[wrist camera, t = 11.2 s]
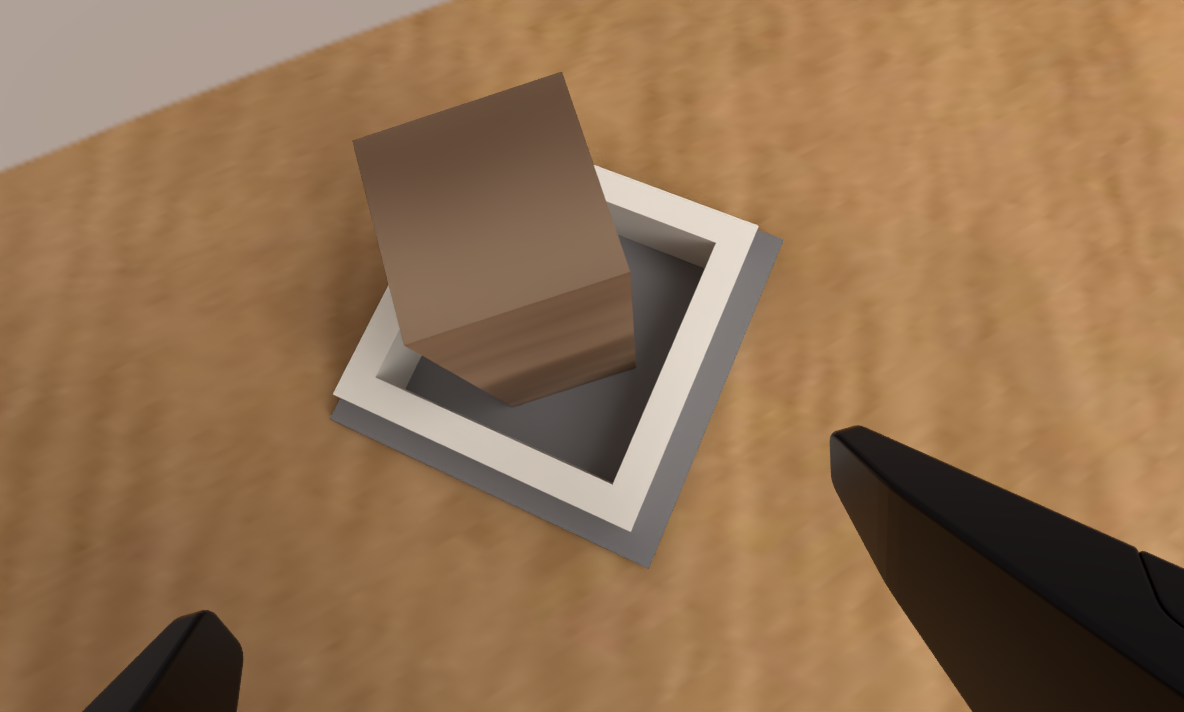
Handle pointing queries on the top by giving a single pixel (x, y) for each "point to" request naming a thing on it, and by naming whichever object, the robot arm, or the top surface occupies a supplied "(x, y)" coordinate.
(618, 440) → the socket collar
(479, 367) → the walnut post
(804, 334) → the top surface
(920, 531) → the robot arm
